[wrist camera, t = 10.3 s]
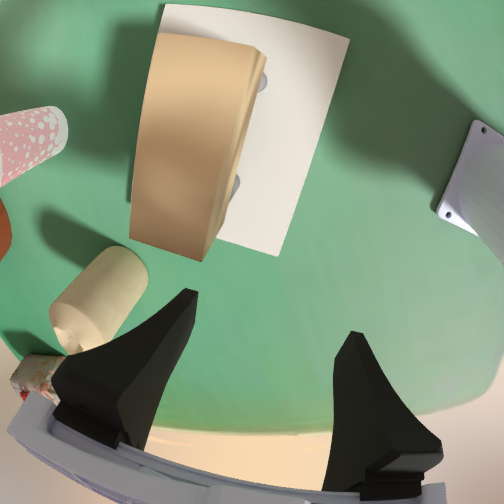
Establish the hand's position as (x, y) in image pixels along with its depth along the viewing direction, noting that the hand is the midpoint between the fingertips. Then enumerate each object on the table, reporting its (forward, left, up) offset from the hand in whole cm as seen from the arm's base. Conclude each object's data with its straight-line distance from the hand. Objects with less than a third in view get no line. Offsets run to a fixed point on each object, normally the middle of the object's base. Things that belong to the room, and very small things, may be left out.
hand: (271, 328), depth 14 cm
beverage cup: (+22, -3, -11) cm, 25 cm away
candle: (+13, +9, -11) cm, 19 cm away
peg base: (+6, -6, -10) cm, 13 cm away
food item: (+28, +36, -11) cm, 47 cm away
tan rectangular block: (+6, -6, -6) cm, 11 cm away
